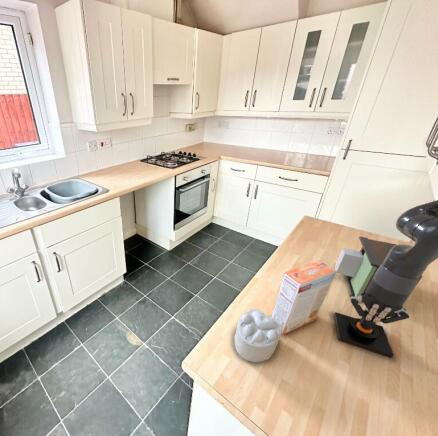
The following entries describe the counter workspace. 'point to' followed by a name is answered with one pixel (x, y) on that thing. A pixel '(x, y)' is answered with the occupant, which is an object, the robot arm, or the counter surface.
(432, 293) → the counter surface
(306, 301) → the cracker box
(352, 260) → the door
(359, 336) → the button box
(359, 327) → the button
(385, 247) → the cupboard
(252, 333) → the lumpy-topped squat cylinder
